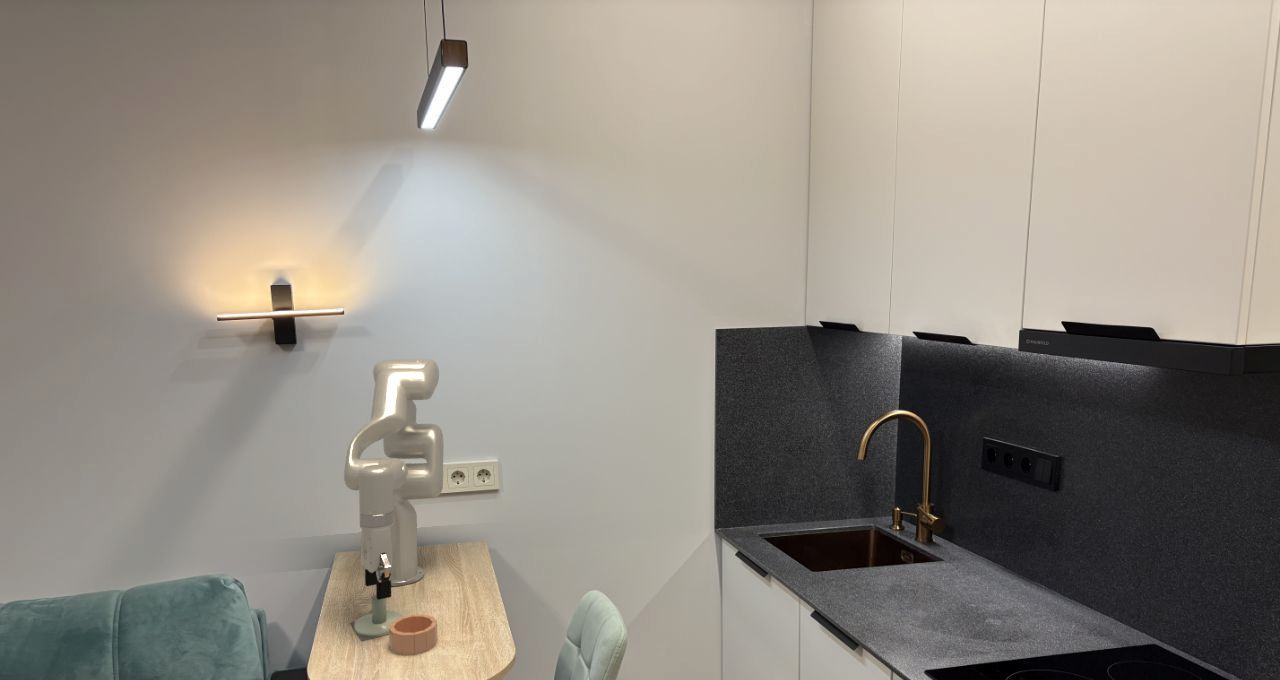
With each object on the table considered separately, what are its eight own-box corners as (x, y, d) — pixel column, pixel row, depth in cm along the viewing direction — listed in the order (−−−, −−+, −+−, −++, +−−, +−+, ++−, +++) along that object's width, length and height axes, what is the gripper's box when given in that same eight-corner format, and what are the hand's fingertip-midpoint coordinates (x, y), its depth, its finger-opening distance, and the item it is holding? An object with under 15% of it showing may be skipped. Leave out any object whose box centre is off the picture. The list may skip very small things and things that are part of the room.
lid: (349, 622, 183) (348, 593, 182) (396, 611, 189) (395, 583, 188) (361, 641, 174) (360, 610, 173) (410, 629, 180) (409, 599, 179)
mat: (349, 624, 183) (349, 622, 183) (396, 613, 189) (396, 611, 189) (361, 643, 174) (361, 641, 174) (410, 631, 180) (410, 629, 180)
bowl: (384, 642, 174) (384, 621, 174) (428, 631, 180) (428, 610, 179) (397, 661, 166) (397, 639, 166) (443, 649, 172) (442, 627, 171)
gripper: (351, 512, 184) (352, 583, 185) (370, 531, 170) (371, 607, 171) (382, 508, 188) (384, 576, 189) (404, 525, 174) (405, 600, 175)
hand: (378, 591), depth 180 cm, fingers open, 9 cm apart
